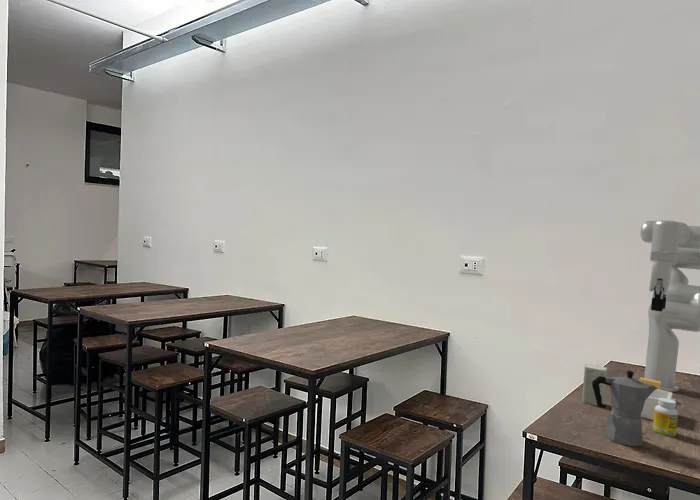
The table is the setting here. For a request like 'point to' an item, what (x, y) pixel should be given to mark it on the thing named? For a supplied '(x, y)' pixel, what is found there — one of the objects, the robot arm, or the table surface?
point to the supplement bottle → (665, 417)
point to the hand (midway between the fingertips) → (658, 309)
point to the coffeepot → (624, 407)
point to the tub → (653, 403)
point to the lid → (652, 383)
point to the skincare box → (590, 375)
